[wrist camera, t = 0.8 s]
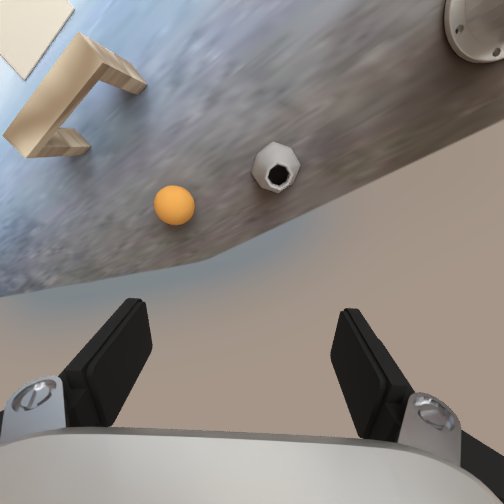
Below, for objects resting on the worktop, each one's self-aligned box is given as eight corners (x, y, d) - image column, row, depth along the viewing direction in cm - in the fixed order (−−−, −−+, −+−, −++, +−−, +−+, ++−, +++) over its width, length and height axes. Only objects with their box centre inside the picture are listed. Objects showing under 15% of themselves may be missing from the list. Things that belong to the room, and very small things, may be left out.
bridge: (67, 137, 36) (2, 135, 27) (130, 63, 31) (78, 31, 22) (83, 154, 36) (25, 158, 28) (147, 84, 32) (102, 62, 23)
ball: (181, 175, 37) (167, 180, 32) (206, 205, 39) (196, 215, 33) (156, 197, 39) (138, 206, 33) (180, 225, 41) (167, 237, 35)
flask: (278, 201, 38) (283, 218, 29) (243, 173, 36) (235, 183, 27) (309, 163, 35) (324, 169, 26) (271, 131, 34) (273, 126, 25)
